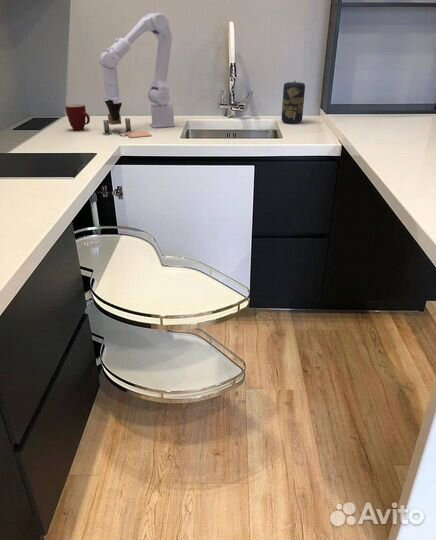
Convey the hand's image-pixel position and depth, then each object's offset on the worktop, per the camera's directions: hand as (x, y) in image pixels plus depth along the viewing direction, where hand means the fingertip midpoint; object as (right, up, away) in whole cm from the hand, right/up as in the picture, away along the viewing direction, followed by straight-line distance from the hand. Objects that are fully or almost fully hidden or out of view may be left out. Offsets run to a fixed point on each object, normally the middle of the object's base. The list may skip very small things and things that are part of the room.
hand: (114, 119), depth 193 cm
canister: (+77, +4, +18) cm, 80 cm away
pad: (+11, -8, -4) cm, 14 cm away
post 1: (-3, -7, -3) cm, 8 cm away
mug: (-16, -3, +5) cm, 17 cm away
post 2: (+6, -5, 0) cm, 8 cm away
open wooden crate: (0, -1, +1) cm, 2 cm away
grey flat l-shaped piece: (+3, -6, -1) cm, 7 cm away
